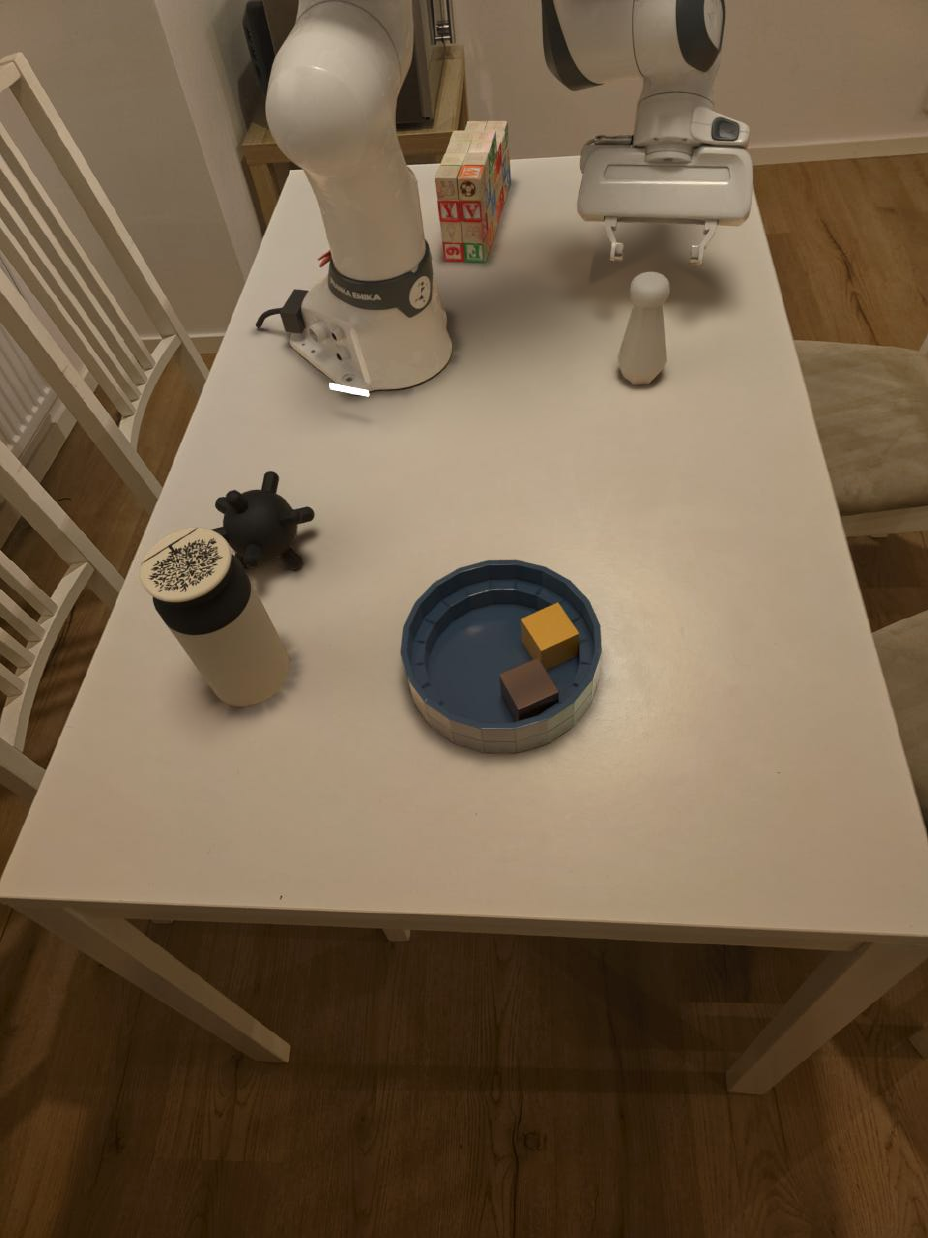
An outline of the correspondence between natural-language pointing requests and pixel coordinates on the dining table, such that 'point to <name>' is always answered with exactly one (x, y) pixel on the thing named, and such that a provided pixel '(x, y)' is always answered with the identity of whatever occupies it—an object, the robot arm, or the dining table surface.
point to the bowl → (494, 654)
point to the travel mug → (216, 615)
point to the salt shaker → (645, 330)
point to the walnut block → (528, 690)
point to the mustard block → (550, 636)
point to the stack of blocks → (473, 189)
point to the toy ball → (261, 524)
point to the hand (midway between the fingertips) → (655, 261)
